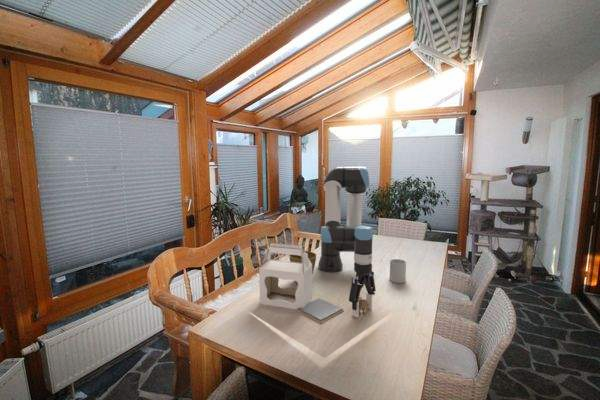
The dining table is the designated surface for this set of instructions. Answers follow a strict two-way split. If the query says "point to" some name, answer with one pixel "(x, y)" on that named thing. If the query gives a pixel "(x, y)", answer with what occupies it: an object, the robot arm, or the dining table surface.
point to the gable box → (285, 276)
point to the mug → (397, 271)
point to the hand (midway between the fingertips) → (362, 312)
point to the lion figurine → (362, 305)
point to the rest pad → (320, 310)
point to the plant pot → (299, 259)
